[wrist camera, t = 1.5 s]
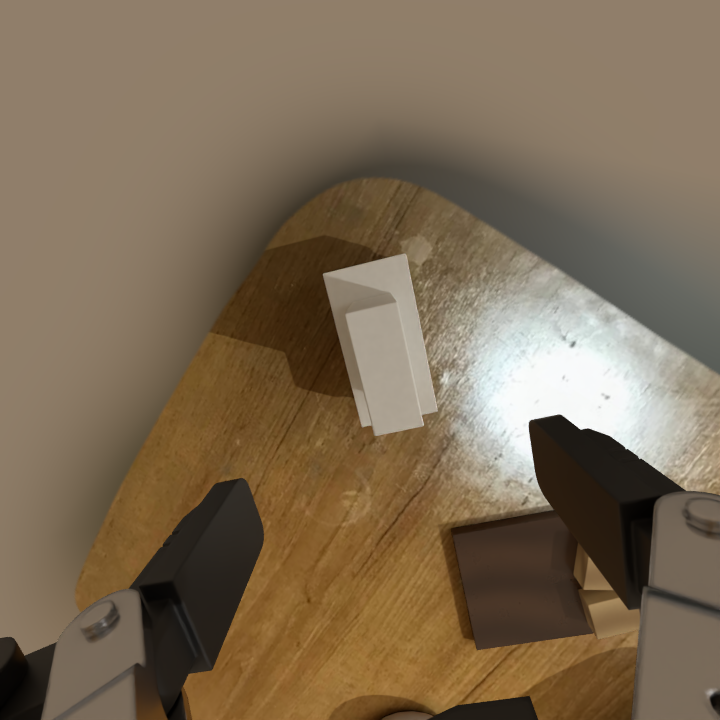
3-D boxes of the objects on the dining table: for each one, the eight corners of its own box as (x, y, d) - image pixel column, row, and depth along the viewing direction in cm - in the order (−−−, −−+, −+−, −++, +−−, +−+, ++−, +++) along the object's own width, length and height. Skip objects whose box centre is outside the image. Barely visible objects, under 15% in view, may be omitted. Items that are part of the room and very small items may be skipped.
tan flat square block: (578, 536, 29) (589, 550, 27) (625, 536, 28) (639, 551, 27) (572, 574, 29) (583, 590, 28) (618, 575, 29) (631, 591, 28)
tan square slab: (577, 589, 30) (587, 605, 28) (622, 577, 29) (635, 593, 28) (587, 622, 31) (597, 640, 29) (631, 611, 30) (644, 629, 29)
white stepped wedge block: (363, 405, 28) (357, 478, 18) (330, 273, 25) (303, 275, 16) (428, 391, 27) (459, 459, 17) (400, 255, 25) (418, 246, 15)
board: (450, 528, 30) (452, 535, 29) (654, 492, 28) (662, 498, 28) (474, 641, 32) (476, 650, 32) (662, 613, 31) (669, 622, 30)
